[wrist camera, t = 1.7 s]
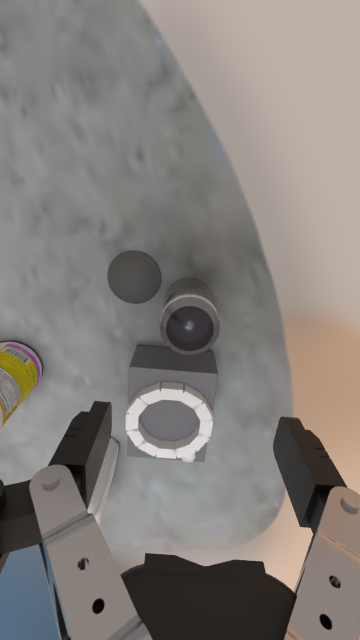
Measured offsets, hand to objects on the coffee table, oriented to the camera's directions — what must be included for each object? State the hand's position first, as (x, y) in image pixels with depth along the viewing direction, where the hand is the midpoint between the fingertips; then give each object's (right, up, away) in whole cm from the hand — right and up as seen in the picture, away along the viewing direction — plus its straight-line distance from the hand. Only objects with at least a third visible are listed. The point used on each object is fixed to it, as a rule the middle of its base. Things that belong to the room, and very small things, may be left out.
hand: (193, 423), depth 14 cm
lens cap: (-6, +10, +18) cm, 21 cm away
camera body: (-2, -4, +22) cm, 23 cm away
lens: (0, +7, +18) cm, 19 cm away
